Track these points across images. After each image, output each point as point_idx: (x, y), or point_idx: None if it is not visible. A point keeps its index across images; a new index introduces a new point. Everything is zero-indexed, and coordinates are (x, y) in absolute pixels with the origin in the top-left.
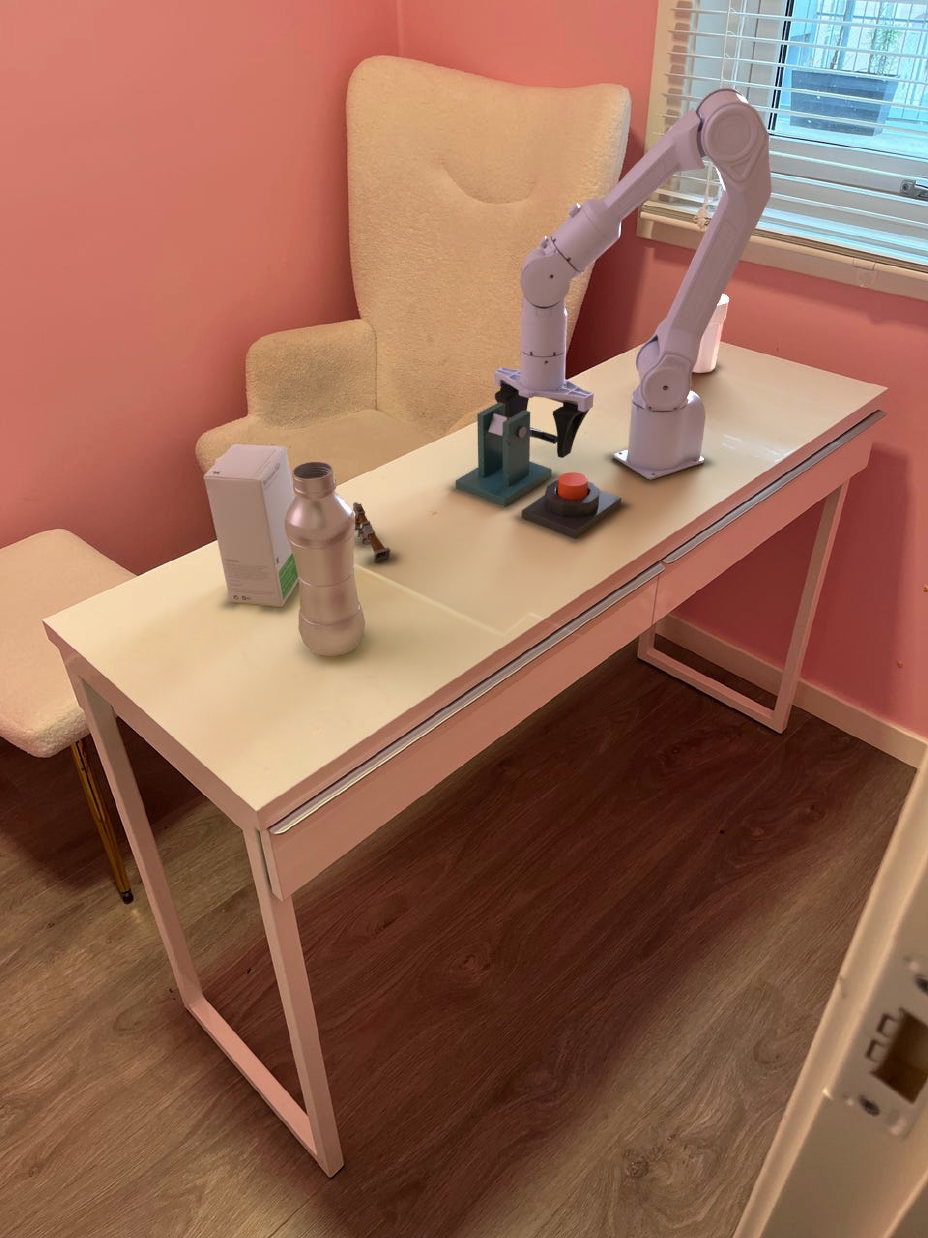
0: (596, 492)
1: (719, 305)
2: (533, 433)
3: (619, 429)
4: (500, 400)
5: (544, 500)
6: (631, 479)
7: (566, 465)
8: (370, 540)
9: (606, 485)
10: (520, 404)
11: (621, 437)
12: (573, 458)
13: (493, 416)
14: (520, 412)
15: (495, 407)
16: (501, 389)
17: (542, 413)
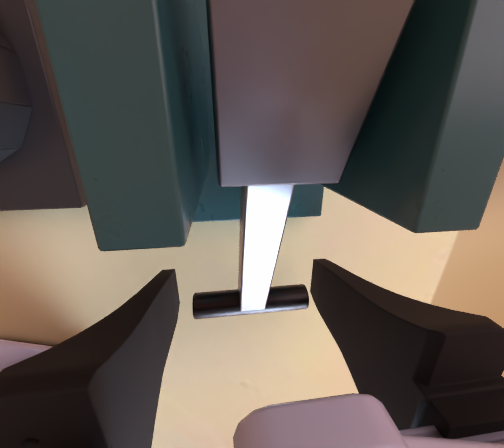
0: None
1: None
2: (239, 271)
3: (204, 424)
4: (455, 319)
5: (9, 35)
6: (24, 318)
7: (181, 278)
8: None
9: (38, 265)
10: (368, 361)
11: (180, 410)
12: (192, 308)
13: None
14: (166, 173)
15: (471, 105)
16: (500, 383)
17: (350, 385)
